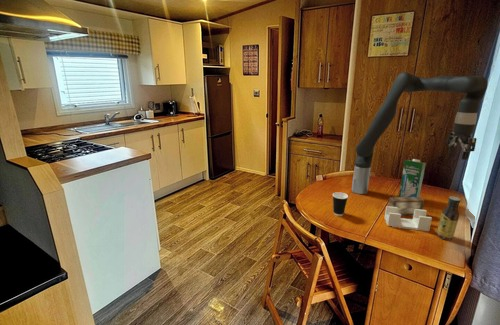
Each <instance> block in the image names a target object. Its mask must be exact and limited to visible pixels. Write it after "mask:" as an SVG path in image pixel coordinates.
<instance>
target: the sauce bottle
mask: <svg viewBox="0 0 500 325" xmlns="http://www.w3.org/2000/svg"><path fill="white" fill-rule="evenodd" d="M447 201H448V202H447V206H446V207H445V208H444V209H443V210H442V212H441V215H440V218H439V219H440V220H439V221H438V222H439V223H438V227H437V229H436V230H437V231H436V235H437V236H438V237H439V238H440V239H442V240H446V241H451V240H453V238H454V236H455V232H456V230H457V229H456V228H457V225H458V221H459V217H460V212H459V209H458V208H459V205H460V203H461V198H459V197H457V196H448V200H447Z"/></svg>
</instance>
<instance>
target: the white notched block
mask: <svg viewBox="0 0 500 325" xmlns="http://www.w3.org/2000/svg"><path fill="white" fill-rule="evenodd" d="M397 209H398V208H397V207H392V206H388V205H386V206H385V212H384V220H386V221H385V223H386V225H388V226H392V227H391V228H397V227H398V229H405V230H414V231H415V230H416V231H420V232H422V231H423V232H430V228H431V225H432V220H433V218H432V216H427V210H426V209H423V210H420V209H415V210H414V215H413V216H412V218H402V216H401V214H398V213H397ZM388 226H387V227H388Z"/></svg>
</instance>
